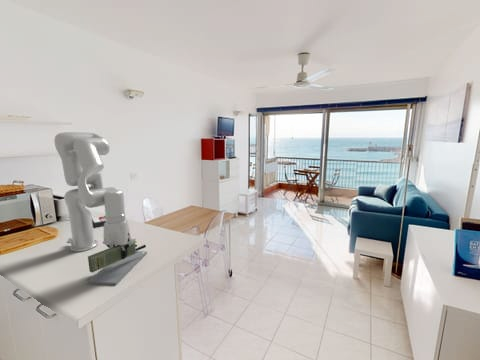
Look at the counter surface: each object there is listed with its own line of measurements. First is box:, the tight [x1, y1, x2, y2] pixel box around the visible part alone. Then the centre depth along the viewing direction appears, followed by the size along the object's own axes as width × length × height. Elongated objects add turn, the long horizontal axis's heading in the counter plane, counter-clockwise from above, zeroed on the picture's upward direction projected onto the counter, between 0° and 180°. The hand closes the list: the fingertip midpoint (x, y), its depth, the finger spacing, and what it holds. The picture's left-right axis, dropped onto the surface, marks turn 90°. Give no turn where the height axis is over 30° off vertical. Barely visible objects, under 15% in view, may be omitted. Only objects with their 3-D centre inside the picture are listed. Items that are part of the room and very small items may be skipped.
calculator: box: [92, 216, 106, 229], centre depth 160 cm, size 11×4×15 cm
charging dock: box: [86, 250, 148, 286], centre depth 106 cm, size 12×26×1 cm, turn 176°
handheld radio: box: [87, 238, 147, 273], centre depth 104 cm, size 7×3×25 cm
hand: (119, 257), depth 105 cm, fingers closed on handheld radio, 3 cm apart
